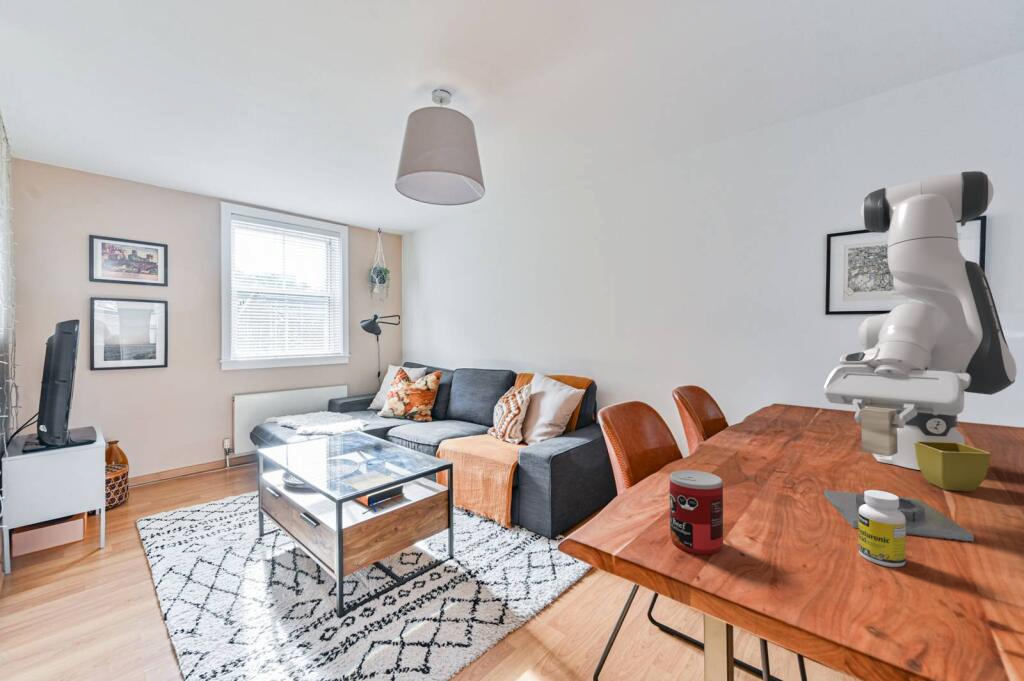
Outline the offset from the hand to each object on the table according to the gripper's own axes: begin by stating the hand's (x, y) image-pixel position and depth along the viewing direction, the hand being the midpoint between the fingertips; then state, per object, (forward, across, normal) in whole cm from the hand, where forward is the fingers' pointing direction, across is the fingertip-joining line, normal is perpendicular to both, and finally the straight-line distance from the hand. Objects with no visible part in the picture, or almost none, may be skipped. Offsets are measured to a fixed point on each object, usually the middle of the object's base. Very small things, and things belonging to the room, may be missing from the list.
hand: (877, 423), depth 79 cm
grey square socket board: (+11, -1, -14) cm, 18 cm away
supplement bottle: (+25, -6, 0) cm, 26 cm away
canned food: (+38, +12, +14) cm, 42 cm away
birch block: (+3, 0, -4) cm, 5 cm away
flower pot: (-9, -2, -35) cm, 36 cm away
